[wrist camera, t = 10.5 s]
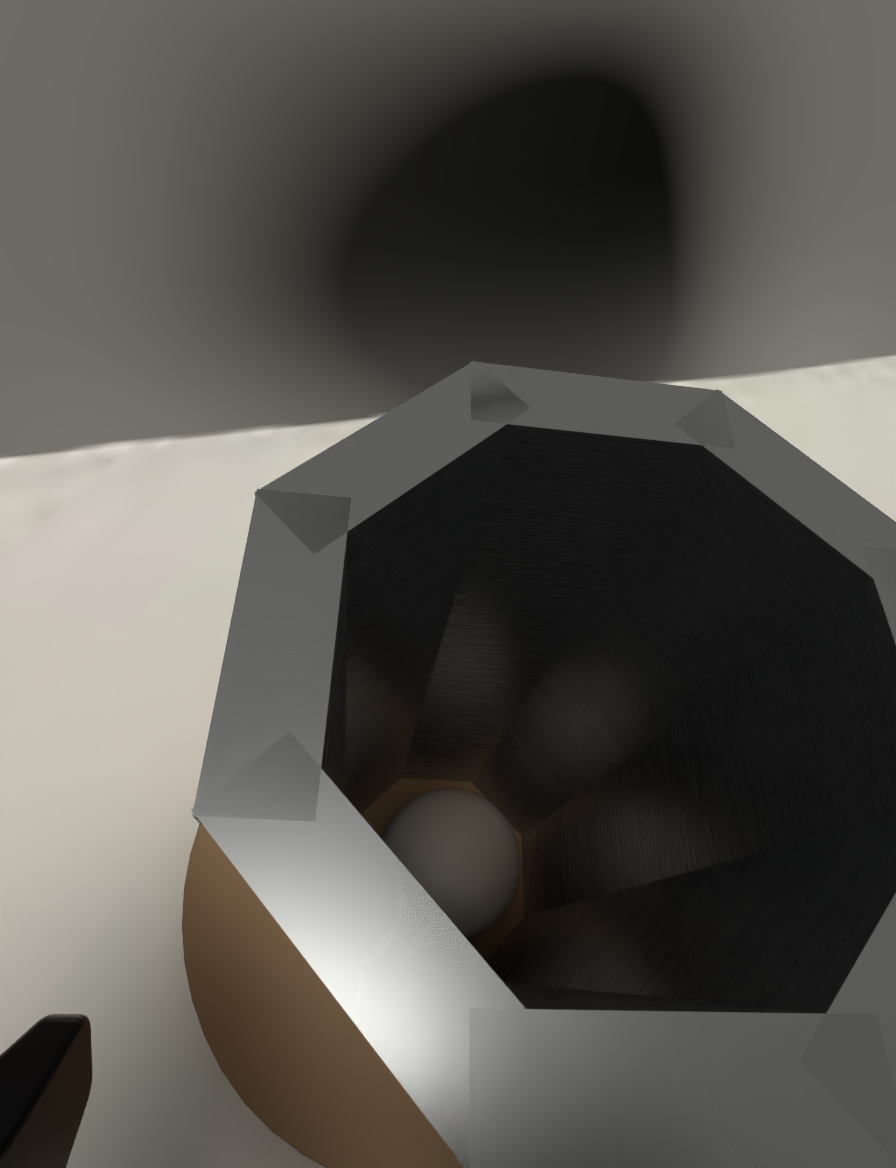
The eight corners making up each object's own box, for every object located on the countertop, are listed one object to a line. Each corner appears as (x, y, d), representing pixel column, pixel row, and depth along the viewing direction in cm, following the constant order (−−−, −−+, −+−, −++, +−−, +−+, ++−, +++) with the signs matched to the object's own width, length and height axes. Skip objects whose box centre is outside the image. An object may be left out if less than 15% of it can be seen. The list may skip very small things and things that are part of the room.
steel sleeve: (560, 1018, 14) (1191, 1171, 4) (293, 1015, 14) (117, 1187, 3) (546, 757, 17) (883, 409, 6) (323, 744, 17) (285, 337, 6)
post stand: (394, 1335, 13) (420, 1524, 8) (99, 850, 16) (9, 808, 12) (735, 908, 17) (865, 889, 13) (451, 600, 20) (479, 503, 16)
